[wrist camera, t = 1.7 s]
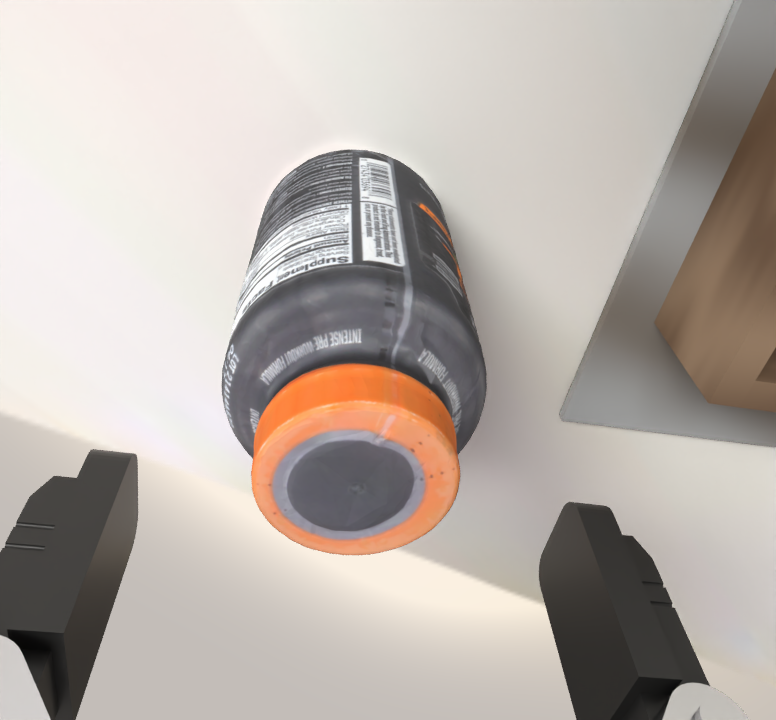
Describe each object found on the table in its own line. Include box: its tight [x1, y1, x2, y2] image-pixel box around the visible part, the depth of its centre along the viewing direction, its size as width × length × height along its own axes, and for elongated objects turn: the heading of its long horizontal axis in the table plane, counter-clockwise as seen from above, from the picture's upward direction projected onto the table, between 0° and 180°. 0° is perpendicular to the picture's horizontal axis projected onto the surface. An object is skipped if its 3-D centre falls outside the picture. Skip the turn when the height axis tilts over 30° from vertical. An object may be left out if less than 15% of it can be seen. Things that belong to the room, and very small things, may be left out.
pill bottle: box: [222, 150, 486, 555], centre depth 18 cm, size 6×6×11 cm
